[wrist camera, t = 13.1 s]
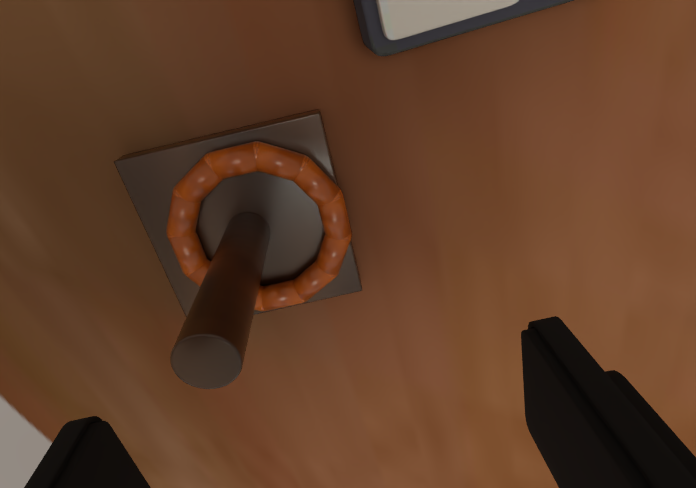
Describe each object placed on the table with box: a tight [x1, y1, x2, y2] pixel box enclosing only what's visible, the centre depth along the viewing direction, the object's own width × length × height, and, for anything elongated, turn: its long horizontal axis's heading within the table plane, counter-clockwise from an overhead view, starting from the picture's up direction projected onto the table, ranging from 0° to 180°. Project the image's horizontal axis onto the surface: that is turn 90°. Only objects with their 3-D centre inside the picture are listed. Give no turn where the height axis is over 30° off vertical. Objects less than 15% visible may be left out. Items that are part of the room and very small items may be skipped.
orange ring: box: [166, 141, 352, 311], centre depth 20 cm, size 8×8×1 cm
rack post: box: [114, 109, 362, 389], centre depth 17 cm, size 9×9×10 cm
